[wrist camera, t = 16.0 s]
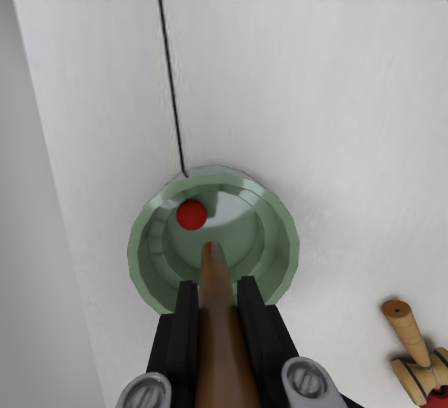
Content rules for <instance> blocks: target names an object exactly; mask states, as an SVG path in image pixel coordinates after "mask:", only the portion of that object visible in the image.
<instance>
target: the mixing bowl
mask: <svg viewBox="0 0 448 408" xmlns="http://www.w3.org/2000/svg"><path fill="white" fill-rule="evenodd" d="M186 200H197V201H199V202H201V203H202V204H203V205H204V206H205V208H206V210H207V220H206V222H205V224H204V225H203V226H202V227H201V228H199V229H197V230H186V229H184V228H182V227H181V226H180V225H179V223H178V222H177V219H176V211H177V209H178V207H179V205H180V204H181V203H183V202H184V201H186ZM209 241H216V242H218V243H220V244H221V246H222V247H223V251H224V255H225V259H226V263H227V267H228V271H229V275H230V279H231V283H232V287H233V291H234V295H235V299H236V303H237V280H241V276H251V275H253V276H254V278H255V280H256V283H257V286H258V288H259V291H260V293H261V296H262V298H263V301H264V304H265V305H272V304H276V303H277V302H278V301H279V299H280V298H281V297H282V296H283V294H284V293H285V292H286V291H287V290H288V288H289V287H290V284H291V282H292V279H293V277H294V274H295V272H296V269H297V267H298V257H299V238H298V235H297V231H296V228H295V224H294V221H293V218H292V216H291V215H290V213H289V212H288V210H287V209H286V208H285V206H284V205H283V203H282V202H281V201H280V199H279V198H278V197H277V196H276V195H275V194H273V193H272V192H270V191H269V190H267V189H266V188H265V187H263V186H262V185H260V184H259V183H258V182H256V181H255V180H253V179H252V178H250V177H249V176H247V175H246V174H245V173H243V172H241V171H238V170H235V169H231V168H228V167H224V166H200V167H197V168H194V169H191V170H188V171H186V172H183V173H180V174H178V175H177V176H176V177H175V178H173V179H172V180H171V181H170V182H168V183H167V184H166V185H165V186H163V187H162V188H161V189H160V190H159V191H158V192H157V193H156V194H155V195H154V196H153V197H152V198H151V199H150V200H149V201H148V202H147V203H146V205H145V206H144V208H143V209H142V211H141V213H140V214H139V216H138V217H137V219H136V221H135V222H134V224H133V226H132V229H131V234H130V239H129V244H128V248H127V257H128V263H129V270H130V276H131V279H132V281H133V282H134V284H135V286H136V288H137V290H138V292H139V294H140V295H141V297H142V299H143V300H144V301H145V302H146V303H147V304H148V305H150V306H151V307H152V308H153V309H154V310H155V311H156V312H157V313H158V314H159V315H161V314H168V313H174V312H175V306H176V300H177V295H178V289H179V283H180V281H185V280H192V281H193V283H197V286H198V301H199V290H200V269H201V250H202V247H203V245H204V244H205V243H207V242H209Z"/></svg>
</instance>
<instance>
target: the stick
mask: <svg viewBox="0 0 448 408" xmlns="http://www.w3.org/2000/svg"><path fill="white" fill-rule="evenodd" d="M194 408H263V407H262V403H261V399H260V395H259V391H258V387H257V384H256V380H255V376H254V372H253V368H252V364H251V360H250V356H249V352H248V348H247V344H246V340H245V336H244V332H243V328H242V324H241V320H240V316H239V312H238V308H237V303H236V299H235V295H234V291H233V287H232V283H231V279H230V275H229V271H228V267H227V263H226V259H225V255H224V251H223V247H222V246H221V244H220V243H218V242H216V241H209V242H207V243H205V244H204V245H203V247H202V250H201V269H200V290H199V324H198V347H197V371H196V390H195V395H194Z"/></svg>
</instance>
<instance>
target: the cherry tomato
mask: <svg viewBox="0 0 448 408" xmlns="http://www.w3.org/2000/svg"><path fill="white" fill-rule="evenodd" d="M176 219H177V222H178V223H179V225H180V226H181V227H182V228H184V229H186V230H197V229H199V228H201V227H202V226H203V225H204V224H205V222H206V220H207V210H206V208H205V206H204V205H203V204H202V203H201V202H199V201H197V200H186V201H184V202H183V203H181V204H180V205H179V207H178V209H177V211H176Z"/></svg>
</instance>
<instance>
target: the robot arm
mask: <svg viewBox="0 0 448 408" xmlns="http://www.w3.org/2000/svg"><path fill="white" fill-rule="evenodd" d="M237 308H238V312H239V316H240V320H241V324H242V328H243V332H244V336H245V340H246V344H247V348H248V352H249V356H250V360H251V364H252V368H253V372H254V376H255V380H256V384H257V387H258V391H259V395H260V399H261V403H262V407H263V408H364V407H362V406H361V405H359V404H357V403H356V402H354V401H352V400H351V399H349V398H347V397H346V396H344V395H342V394H341V393H339V391H338V389H337V387H336V386H335V384H334V382H333V380H332V379H331V377H330V375H329V374H328V372H327V371H326V370H325V368H323V367H322V366H321V365H320V364H319V363H317V362H315V361H314V360H312V359H309V358H306V357H300V356H299V354H298V352H297V350H296V348H295V345H294V343H293V341H292V339H291V337H290V335H289V332H288V330H287V328H286V326H285V324H284V322H283V319H282V317H281V315H280V313H279V311H278V308H277V307H276V305H275V304H272V305H265V304H264V301H263V298H262V296H261V293H260V291H259V288H258V286H257V283H256V280H255V278H254V276H253V275H251V276H241V280H237ZM198 324H199V301H198V286H197V283H193V281H192V280H185V281H180V283H179V289H178V295H177V300H176V306H175V312H174V313H168V314H161V316H160V319H159V323H158V327H157V331H156V335H155V339H154V342H153V346H152V350H151V354H150V358H149V362H148V366H147V370H146V373H145V374H142V375H140V376H138V377H136V378H135V379H134V380H133V381H131V382H130V383H129V384H128V385H127V386H126V388H125V389H124V390H123V391H122V393H121V396H120V398H119V400H118V403H117V405H116V408H194V395H195V390H196V371H197V347H198Z"/></svg>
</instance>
